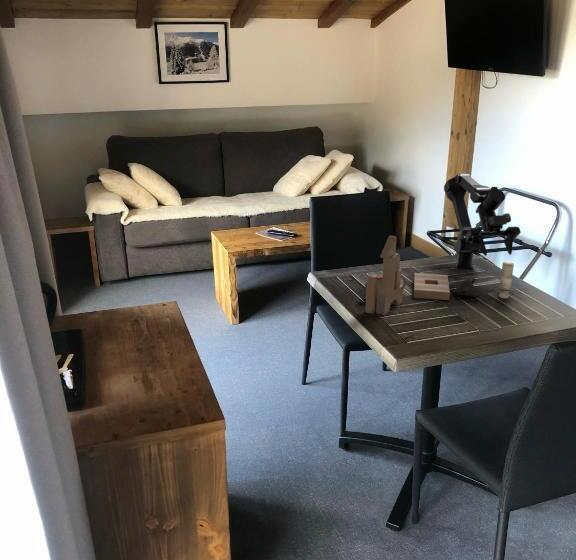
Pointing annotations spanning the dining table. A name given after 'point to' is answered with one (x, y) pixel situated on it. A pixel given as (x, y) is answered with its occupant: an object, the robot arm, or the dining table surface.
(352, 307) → the dining table surface
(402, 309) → the dining table surface
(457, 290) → the hairbrush
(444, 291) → the brown box
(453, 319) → the dining table surface
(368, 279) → the wooden toy
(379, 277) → the tin
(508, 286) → the cream ridged cylinder
